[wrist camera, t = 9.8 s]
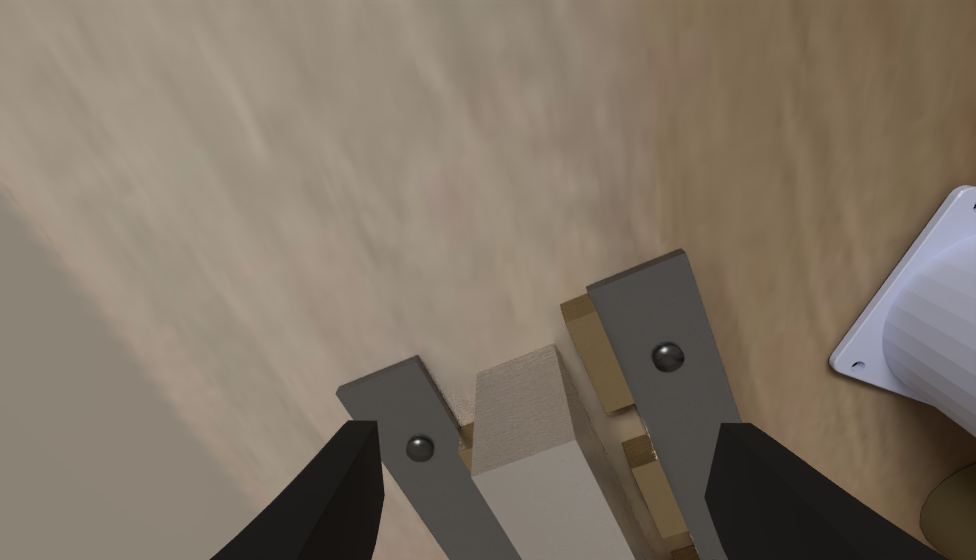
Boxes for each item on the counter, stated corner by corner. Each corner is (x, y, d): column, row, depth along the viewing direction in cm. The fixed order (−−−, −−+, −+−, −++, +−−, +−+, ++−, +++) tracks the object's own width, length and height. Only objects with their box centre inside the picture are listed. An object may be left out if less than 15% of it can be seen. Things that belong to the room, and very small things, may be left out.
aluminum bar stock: (553, 340, 20) (575, 440, 15) (668, 584, 26) (716, 723, 20) (476, 371, 21) (471, 477, 15) (605, 603, 26) (635, 742, 21)
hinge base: (680, 248, 19) (697, 262, 17) (791, 583, 25) (810, 614, 24) (339, 387, 21) (327, 410, 20) (523, 658, 28) (525, 690, 26)
